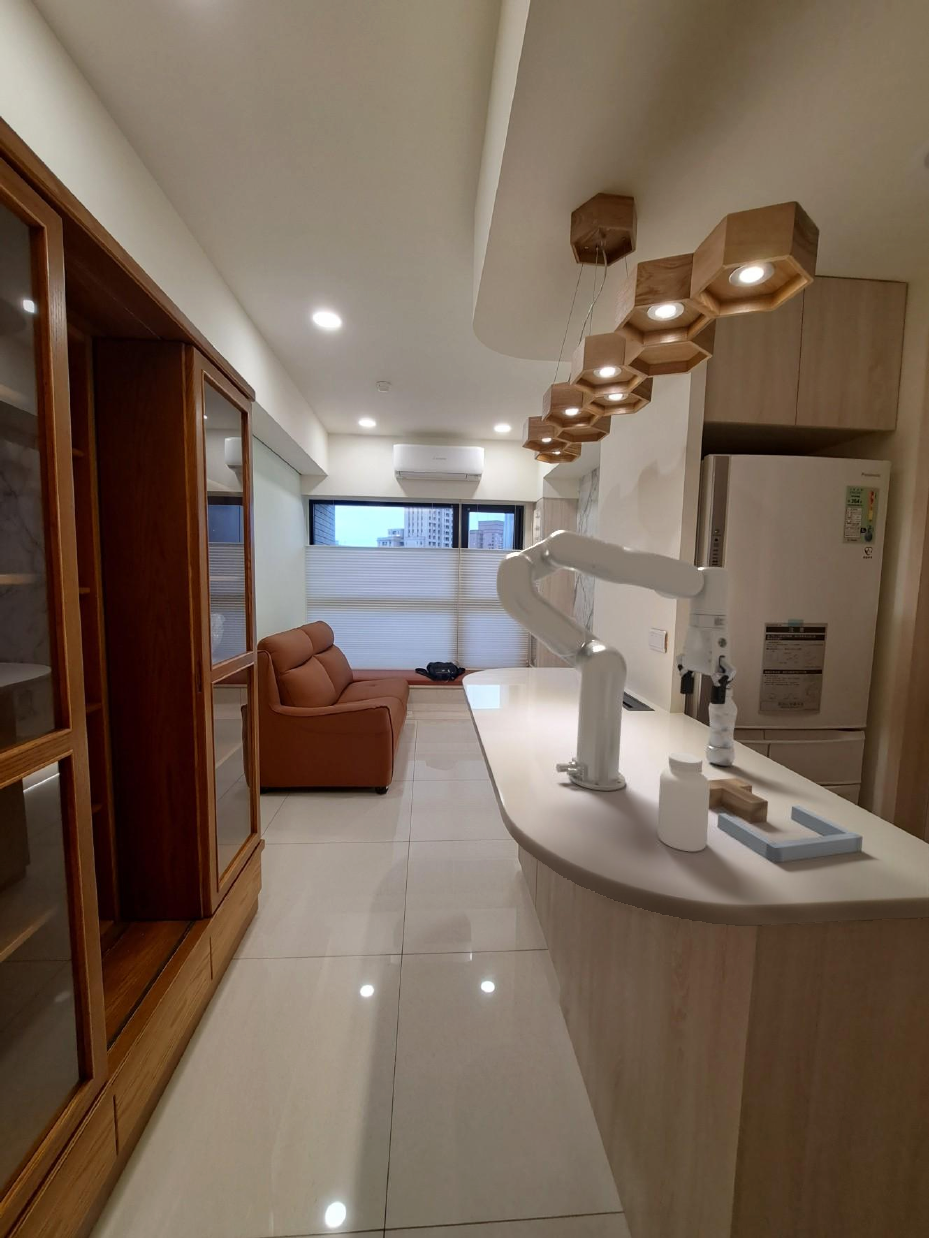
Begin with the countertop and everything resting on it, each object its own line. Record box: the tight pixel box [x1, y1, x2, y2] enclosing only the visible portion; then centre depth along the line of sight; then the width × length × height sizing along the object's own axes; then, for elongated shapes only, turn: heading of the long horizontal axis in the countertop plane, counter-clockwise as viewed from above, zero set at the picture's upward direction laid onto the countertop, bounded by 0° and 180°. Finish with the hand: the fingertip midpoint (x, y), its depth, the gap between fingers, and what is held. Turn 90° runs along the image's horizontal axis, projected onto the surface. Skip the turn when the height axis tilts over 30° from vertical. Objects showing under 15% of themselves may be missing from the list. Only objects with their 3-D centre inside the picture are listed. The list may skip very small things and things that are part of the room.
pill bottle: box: [657, 752, 710, 852], centre depth 83 cm, size 8×8×15 cm
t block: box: [708, 777, 769, 824], centre depth 96 cm, size 11×11×4 cm
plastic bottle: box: [705, 686, 738, 767], centre depth 122 cm, size 6×7×20 cm
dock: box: [716, 805, 863, 864], centre depth 85 cm, size 19×12×2 cm, turn 104°
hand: (701, 698), depth 106 cm, fingers open, 9 cm apart
